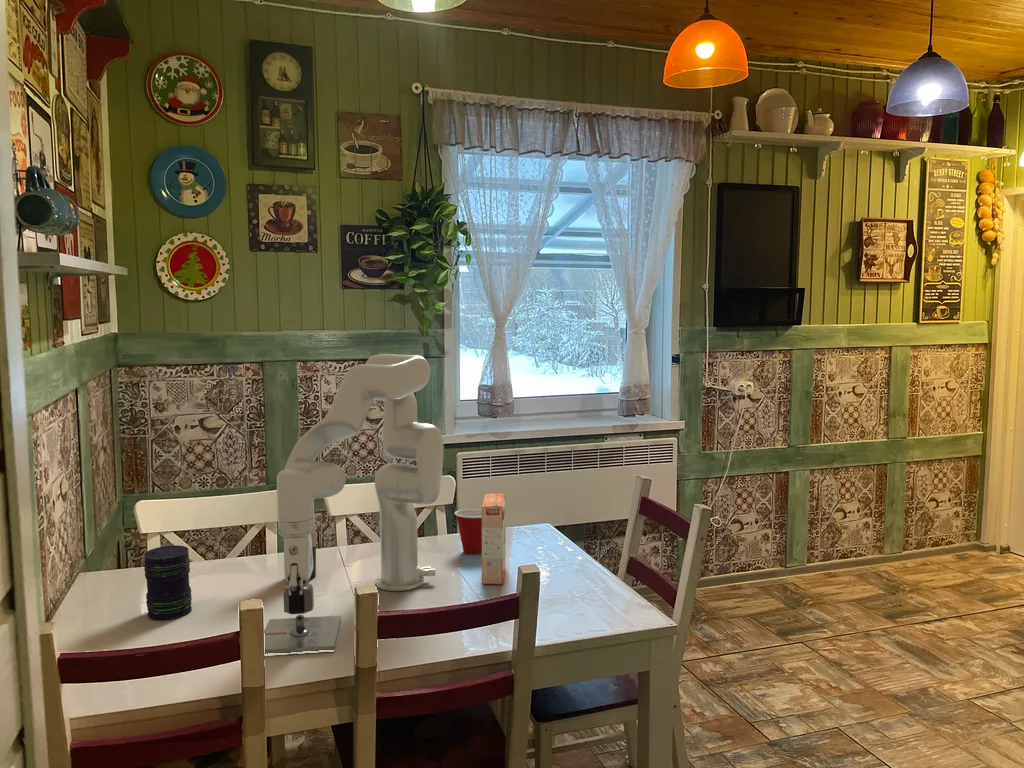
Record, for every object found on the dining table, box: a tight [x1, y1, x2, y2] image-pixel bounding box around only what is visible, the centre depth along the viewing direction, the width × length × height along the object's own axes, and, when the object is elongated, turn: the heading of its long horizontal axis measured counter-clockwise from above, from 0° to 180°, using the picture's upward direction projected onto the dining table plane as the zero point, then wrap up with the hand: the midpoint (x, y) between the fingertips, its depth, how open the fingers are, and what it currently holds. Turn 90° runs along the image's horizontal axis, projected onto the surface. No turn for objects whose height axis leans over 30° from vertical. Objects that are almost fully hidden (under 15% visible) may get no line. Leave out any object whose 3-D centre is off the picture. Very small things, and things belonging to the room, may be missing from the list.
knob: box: [282, 582, 315, 615], centre depth 173 cm, size 6×6×5 cm
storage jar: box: [143, 545, 193, 622], centre depth 188 cm, size 10×10×15 cm
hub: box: [264, 614, 342, 654], centre depth 174 cm, size 16×16×5 cm
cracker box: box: [481, 493, 507, 585], centre depth 211 cm, size 14×6×21 cm, turn 178°
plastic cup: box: [454, 508, 482, 555], centre depth 232 cm, size 11×11×12 cm
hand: (299, 605), depth 173 cm, fingers closed on knob, 6 cm apart
